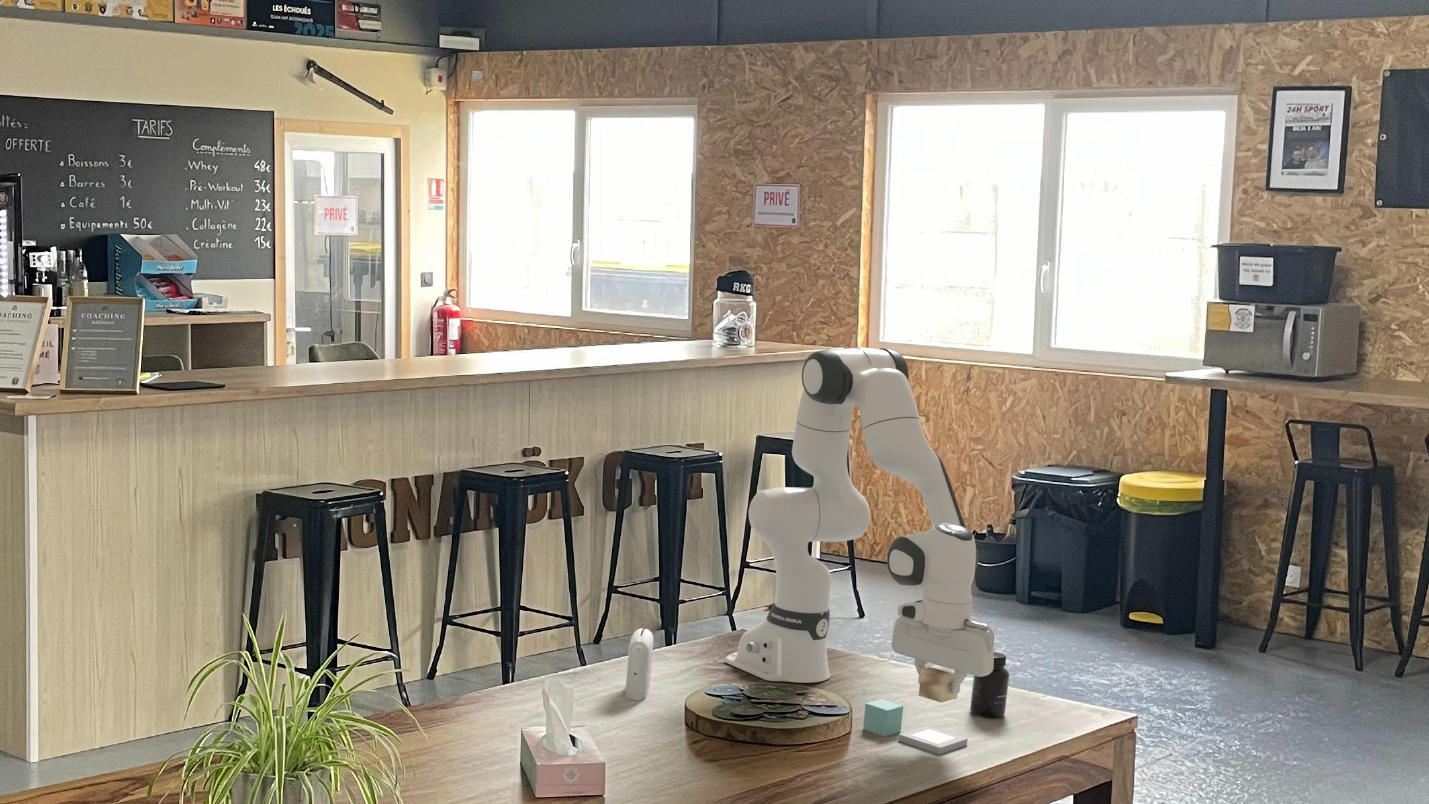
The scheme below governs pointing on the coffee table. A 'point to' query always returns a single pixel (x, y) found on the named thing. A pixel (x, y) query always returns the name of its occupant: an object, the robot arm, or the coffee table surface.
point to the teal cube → (883, 717)
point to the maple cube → (936, 683)
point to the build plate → (933, 739)
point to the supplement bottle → (991, 690)
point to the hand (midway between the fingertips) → (938, 688)
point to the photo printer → (639, 664)
